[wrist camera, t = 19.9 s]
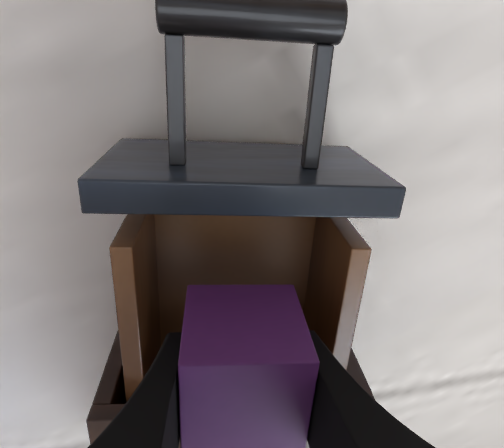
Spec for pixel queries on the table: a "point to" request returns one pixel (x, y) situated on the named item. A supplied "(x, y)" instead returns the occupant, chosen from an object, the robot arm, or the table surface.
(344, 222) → the drawer
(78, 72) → the table surface
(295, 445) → the block
